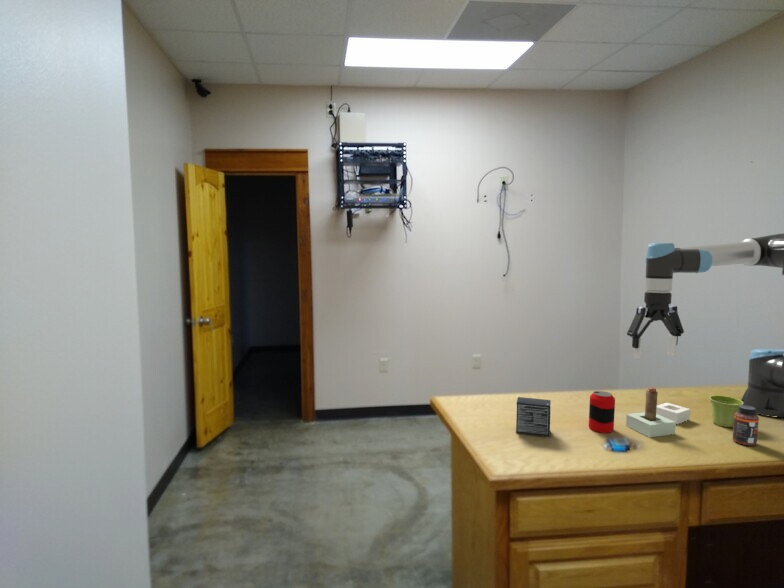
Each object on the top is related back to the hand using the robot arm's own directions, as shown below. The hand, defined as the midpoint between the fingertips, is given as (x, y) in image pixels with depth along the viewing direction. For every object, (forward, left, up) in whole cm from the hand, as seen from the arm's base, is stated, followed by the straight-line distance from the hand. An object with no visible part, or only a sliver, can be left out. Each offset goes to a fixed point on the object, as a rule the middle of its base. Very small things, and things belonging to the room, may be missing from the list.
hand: (654, 356), depth 151 cm
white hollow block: (-15, -6, -25) cm, 29 cm away
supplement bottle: (-20, +16, -25) cm, 36 cm away
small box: (+38, -9, -25) cm, 46 cm away
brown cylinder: (0, 0, -25) cm, 25 cm away
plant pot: (-28, +3, -25) cm, 38 cm away
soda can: (+15, -5, -25) cm, 29 cm away
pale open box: (0, 0, -25) cm, 25 cm away
